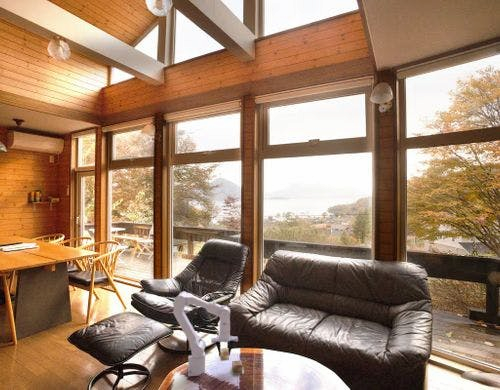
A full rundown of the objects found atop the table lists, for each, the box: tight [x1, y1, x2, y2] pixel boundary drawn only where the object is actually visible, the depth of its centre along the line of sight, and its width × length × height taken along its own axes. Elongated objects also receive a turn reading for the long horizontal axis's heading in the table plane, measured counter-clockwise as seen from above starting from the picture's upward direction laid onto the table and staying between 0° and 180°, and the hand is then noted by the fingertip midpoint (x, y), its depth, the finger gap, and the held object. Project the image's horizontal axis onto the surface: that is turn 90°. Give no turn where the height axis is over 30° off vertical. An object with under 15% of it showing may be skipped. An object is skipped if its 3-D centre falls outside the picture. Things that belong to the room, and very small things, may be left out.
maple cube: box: [219, 347, 230, 362], centre depth 164 cm, size 4×4×4 cm
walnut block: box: [231, 360, 243, 373], centre depth 165 cm, size 5×5×4 cm
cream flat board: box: [229, 366, 245, 375], centre depth 165 cm, size 11×8×1 cm
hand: (224, 355), depth 164 cm, fingers closed on maple cube, 4 cm apart
